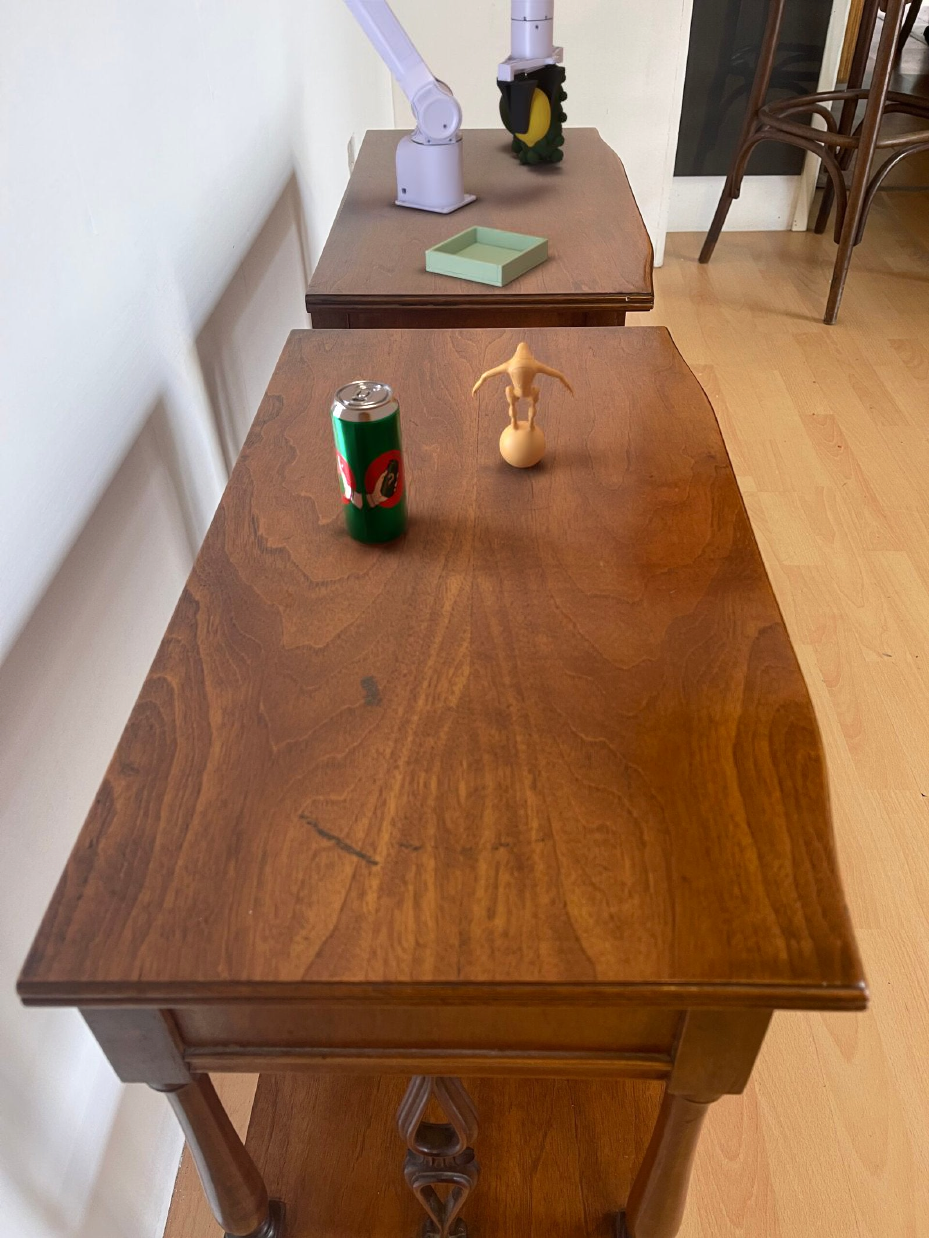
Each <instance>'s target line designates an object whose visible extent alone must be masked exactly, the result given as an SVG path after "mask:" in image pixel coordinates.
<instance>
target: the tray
mask: <svg viewBox="0 0 929 1238" xmlns="http://www.w3.org/2000/svg"><path fill="white" fill-rule="evenodd" d="M424 252H425V270H426V271H427V272H430V273H436V274H440V275H445V276H449V277H455V278H459V279H462V280H468V281H471V282H472V281H473V282H477V283H481V284H482V283H483V284H487V285H491V286H496V287H500V288H501V287H502V288H503V287H504V286H505V285H507V284H509V283H511V282H512V281H514V280H515V279H517V278H519V277H520V276H522V275H524V274H525V273H527V272H528V271H530V270H532V269H533V268H536V267H537V266H538V265H540V264H542V263H543V262H545V261H547V260H548V259H549V238H545V237H541V236H535V235H529V234H524V233H519V232H513V231H509V230H503V229H497V228H492V227H486V226H481V225H476V224H475V225H472V226H471V227H469V228H466V229H465V230H463V231H461V232H459V233H457V234H454V235H453V236H451V237H449V238H448V239H447V238H446V239H445V240H443V241H442V242H440V243H438V244H436V245H434V246H432V247H430V248H428V249H426V250H425V251H424Z"/></svg>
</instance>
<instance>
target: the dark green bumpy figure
mask: <svg viewBox="0 0 929 1238" xmlns="http://www.w3.org/2000/svg"><path fill="white" fill-rule="evenodd" d="M553 46H555V45H554V44H553ZM556 66H559V65H558V64H556ZM525 77H527V75H526V74H525ZM527 79H528V78H527ZM566 81H567V76H566V74H565V75H564V77H563V79H562V81H561V83H560V85H559V87H558V90H557V93H556V96H555V99H554V103H553V107H552V111H551V117H550V125H549V128H548V131H547V133H546V134H545V136H544V137H543V138H542V139H540V140H539V141H537V142H536V143H535V144H534V145H533V146H531V147H530V146H528V145H527V144H526V143H525V142H524V141H522V140H521V139H519V138H518V137H517V135H516V134H515V133H513V132H512V128H511V123H510V119H509V114H508V110H507V107H506V104H505V101H504V98H503V96H502V94H501V95H500V99H499V103H498V110H499V116H500V120H501V122H502V125H503V126H504V128H505V129H506V130H507V131H508V133H510V134H511V135H512V141H511V144H510V148H511V150H512V152H513V153H514V154H515V155H518V156H517V157H518V158H517V159H518V161H519V163H521V164H523V165H526V164H528V163H529V164H530V165H536V164H539V162H542V161H546V160H549V162H554V163H560V162H561V161H563V159H564V151H563V150H562V149H560V147H562V146H564V144H565V141H566V139H565V137H564V135H563V124H565V123H567V121H568V115H567V113H566V112H565V111H564V108H563V104H562V103H563V102H565V101H567V100H568V93H567V91H565V90H564V87H563V85H562V84H563V83H565V82H566Z"/></svg>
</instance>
